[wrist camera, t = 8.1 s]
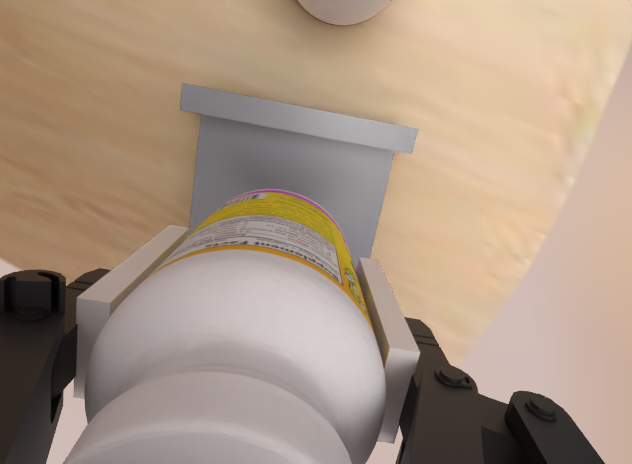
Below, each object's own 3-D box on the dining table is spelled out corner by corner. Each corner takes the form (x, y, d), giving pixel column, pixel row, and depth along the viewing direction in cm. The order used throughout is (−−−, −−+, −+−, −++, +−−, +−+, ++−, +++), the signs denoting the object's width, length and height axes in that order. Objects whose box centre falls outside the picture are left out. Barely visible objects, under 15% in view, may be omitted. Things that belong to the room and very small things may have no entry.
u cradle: (206, 88, 29) (182, 83, 24) (398, 125, 30) (418, 129, 25) (188, 258, 33) (163, 288, 27) (360, 287, 34) (370, 322, 28)
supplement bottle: (316, 346, 19) (326, 756, 7) (180, 299, 19) (-79, 664, 6) (373, 217, 18) (517, 456, 5) (226, 160, 17) (-5, 284, 5)
